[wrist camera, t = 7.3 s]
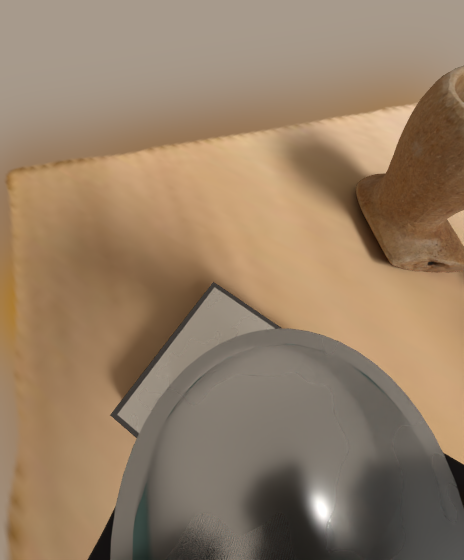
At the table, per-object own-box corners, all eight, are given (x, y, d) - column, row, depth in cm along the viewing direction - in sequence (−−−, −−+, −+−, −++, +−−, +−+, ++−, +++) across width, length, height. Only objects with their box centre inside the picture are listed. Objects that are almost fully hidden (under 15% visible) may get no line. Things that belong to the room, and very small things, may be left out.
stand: (250, 510, 17) (258, 548, 13) (126, 406, 18) (106, 416, 15) (319, 364, 21) (339, 365, 18) (213, 291, 23) (213, 280, 19)
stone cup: (329, 185, 30) (432, 28, 16) (404, 180, 31) (561, 33, 17) (368, 287, 24) (575, 190, 10) (456, 276, 26) (742, 177, 12)
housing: (273, 458, 14) (611, 1021, 2) (174, 438, 14) (-66, 898, 2) (282, 353, 17) (461, 333, 5) (198, 336, 17) (153, 273, 5)
